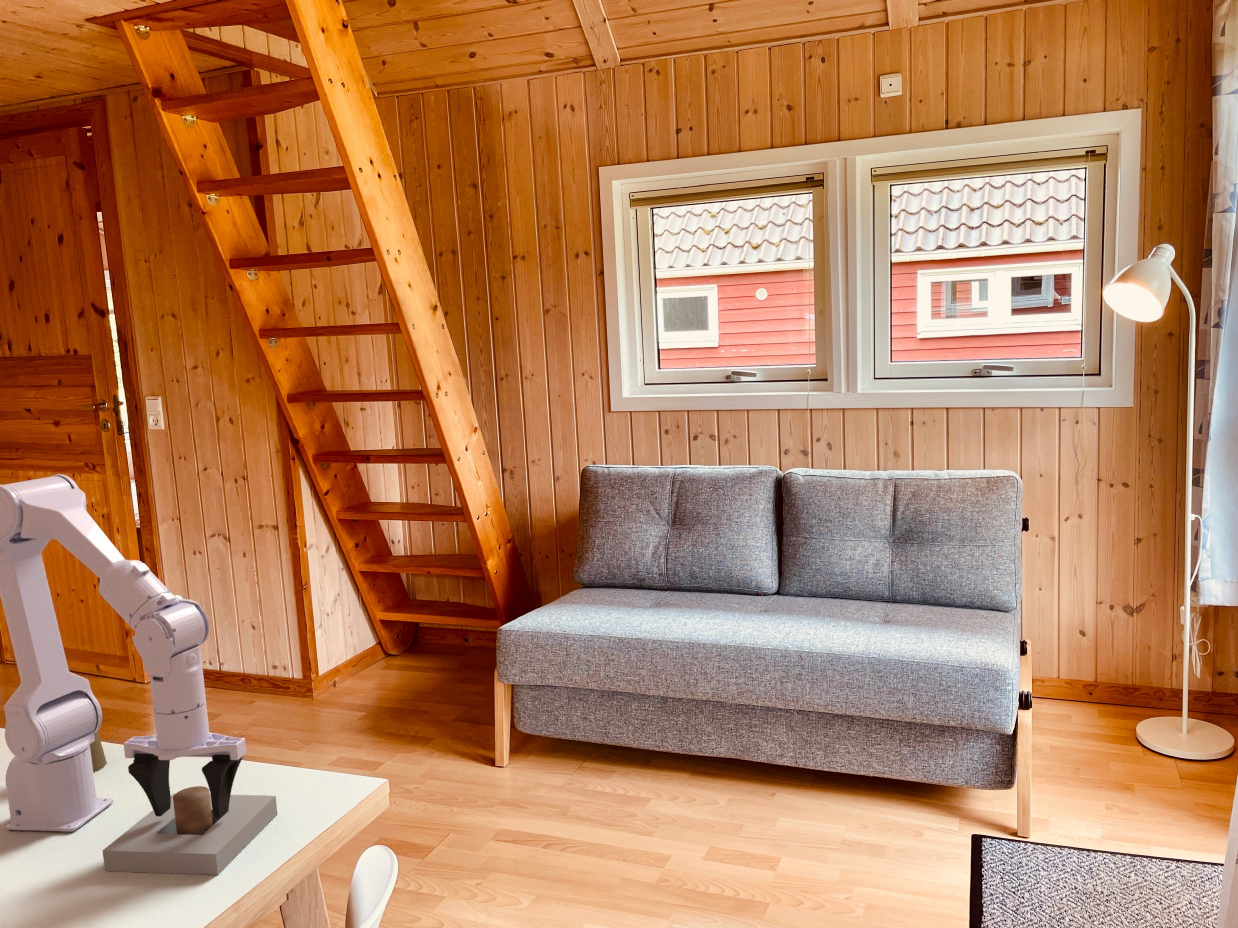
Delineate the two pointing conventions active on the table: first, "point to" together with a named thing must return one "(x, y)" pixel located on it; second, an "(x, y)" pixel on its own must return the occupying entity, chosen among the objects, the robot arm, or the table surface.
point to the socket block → (190, 840)
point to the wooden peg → (192, 811)
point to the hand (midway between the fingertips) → (192, 813)
